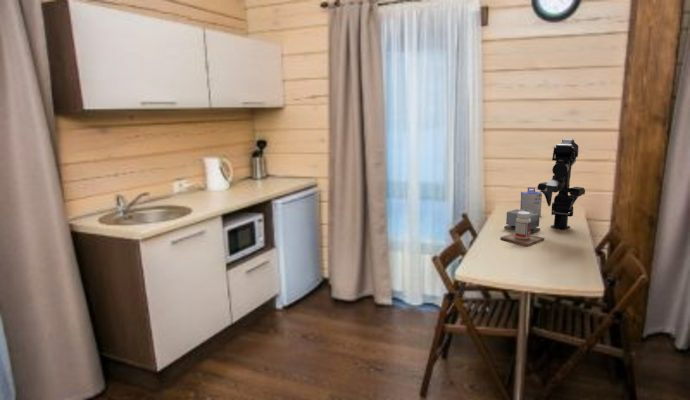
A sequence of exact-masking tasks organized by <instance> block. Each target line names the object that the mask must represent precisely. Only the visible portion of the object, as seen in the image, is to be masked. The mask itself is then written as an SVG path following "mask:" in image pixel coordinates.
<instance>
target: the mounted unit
mask: <svg viewBox="0 0 690 400" xmlns="http://www.w3.org/2000/svg"><path fill="white" fill-rule="evenodd" d="M519 211H523V210H520V209H512V210H510V211H506V218H505V219H506V220H505V221H506V222H505V224H506V225H505V226H504V227H503V228H504V229H506V230H510V231H514V232H515V229H516V219H517V218H518V216H517V214H518V212H519ZM526 212H528V211H526ZM540 217H541V216H540V214H538V213H533V212H530V217H529V218H530V219H531V231H530V235H532V234H534V233H537V232H540V231H541V228H539V227H540V226H539V225H540Z"/></svg>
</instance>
